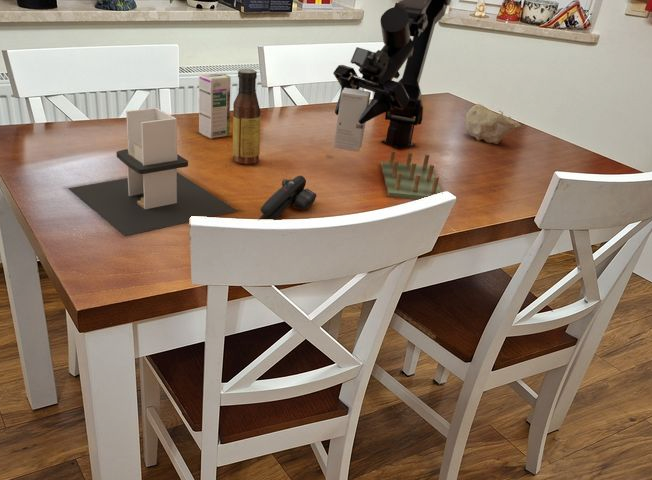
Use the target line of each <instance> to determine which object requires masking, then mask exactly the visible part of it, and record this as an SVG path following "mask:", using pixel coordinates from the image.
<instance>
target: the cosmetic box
mask: <svg viewBox="0 0 652 480" xmlns="http://www.w3.org/2000/svg"><path fill="white" fill-rule="evenodd" d="M371 93H372V91H369V90H362V89H359V90H357V89H349V88H344V90H343V91H342V93H341V98H340V105H339V112H338V115H337V119H336V127H335V132H334V133H335V134H334V141H333V149H340V150H346V151H352V152H360V150H361V148H362V146H363V142H364V141H363V140H364V134H365V129H366V123H367V122H365V123H363V124H360V123H359V119H360V117H361V116H362V114H363V113H364V111H365V110H366V108H367V107H368V105H369V104H370V99H371Z"/></svg>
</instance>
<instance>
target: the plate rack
mask: <svg viewBox="0 0 652 480" xmlns="http://www.w3.org/2000/svg"><path fill="white" fill-rule="evenodd" d="M395 157H396V150H391V151H390V155H389V161H381V164H380V167H381V171H382V177H383V180H384V185H385V189H386V193H387V194H386V195H387V197H390V198H400V199H411V200H419V199H421V198H424V197H428V196H431V195H433V194H437V193H440V192H442V193H443V191H442V189H441V186H440V184H439V181H440V176H438V175H436V174H435V172H434V169H435V165H434V164H429V160H430V154H429V153H425V154H424V159H423V163H422V165H420V164H417V163H416V162H412V159H413V152H411V151H409V152H408V153H407V158H406V162H405V163H400V162H399V161H398V160H395Z"/></svg>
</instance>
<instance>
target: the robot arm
mask: <svg viewBox="0 0 652 480" xmlns="http://www.w3.org/2000/svg"><path fill="white" fill-rule="evenodd" d="M451 3H452V0H399V1H398V2H395V4H394V6H393V7H390V8H388V9H387V10H385V11H384V12H383V14H382V15H381V16H380V19H379V20H380V28H381V29H380V30H381V35H382V42H383V44H384V45H383V47H382V48H381V49H378V50H376V51H372V50H368V49H365V48H362V47H358V46H357V47H355V50H354V52H353V54H352V56H351V59H350V64H354V65H355V66H357V67H358V72H359V74H361V75H362V76H359V75H358V73H357V72H356V70H355V68H354V67H352V66H347V65H345V64H339V65H337V67H336V68H335V69H334V71H333V73H332V74H333V76H334V77H335V79H336V80H337V82H338V83H339V85H340V94H339V96H338V99H337V102H336V106H335V108H334V109H335V110H334V113H335V115H336V116H338V112H339V105H340V98H341V93H342V91H343V90H344V88H349V89H357V90H360V88H361V89H363V90H366V91H369V92H372V93H374V94H373V98H372V99H371V101H369V105H368V107H367V108H366V110H365V111H364V113H363V114H362V116H361V117H360V119H359V123H360V124H363V123H365V122H366V123H367V122H369V121H371V120H372V119H374V118H376V117H378V116H380V115H382V114H385V115H384V120H385V121H387V120H388V121H389V124H388V126H387V132H386V137H385V139H381V142H382V144H385V145H388V146H390V147H392V148H394V149H398V150H402V149H407V148H413V147H416V144H415V143H414V142H412V141H413V135H414V130H415V126H418V125H422V124H423V123H422V122H423V117H424V106H423V100H422V97H423V95H422V92H421V87H420V82H421V77H422V74H423V71H424V66H425V63H426V59H427V57H428V52H429V49H430V45H431V41H432V38H433V34H434V31H435V28H436V27H435V26H436V24H437V23H438V22H439V21H440V20H441V19H442V18H443V17H445V14H446V10H447V8H448V6H450V5H451ZM411 37H412V38H411ZM404 64H405V66H404V70H403V74H402V77H401V78H400V79H399V77H400V75H401V74H400V72H399V71H400V69H401V68H402V66H403V65H404ZM393 79H399V80H398V81H395V80H393ZM366 123H365V124H366Z"/></svg>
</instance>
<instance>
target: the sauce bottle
mask: <svg viewBox="0 0 652 480" xmlns="http://www.w3.org/2000/svg"><path fill="white" fill-rule="evenodd" d="M257 75H258V73H257V70H255V69H252V68H242V69H238V70H237V77H238V89H237V90H238V93H237V95H236V97H235V99H234V101H233V107H232V108H233V111H232V112H233V115H232V155H233V161H234V162H235V163H238V164H240V165H248V166H249V165H250V166H251V165H255V164H257V163H258V162H259V160H260V154H261V153H260V152H261V119H262V117H261V116H262V115H261V114H262V111H261V107H260V104H259V99H258V95H257V89H256V87H257V86H256V85H257V84H256V83H257V78H258V76H257Z"/></svg>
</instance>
